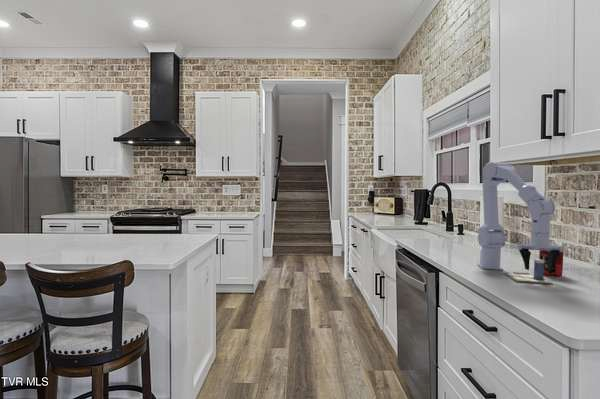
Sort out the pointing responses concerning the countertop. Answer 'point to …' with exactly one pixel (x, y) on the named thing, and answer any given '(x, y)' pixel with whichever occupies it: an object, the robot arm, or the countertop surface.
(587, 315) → the countertop surface
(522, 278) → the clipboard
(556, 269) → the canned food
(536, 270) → the blue-grey cylinder
